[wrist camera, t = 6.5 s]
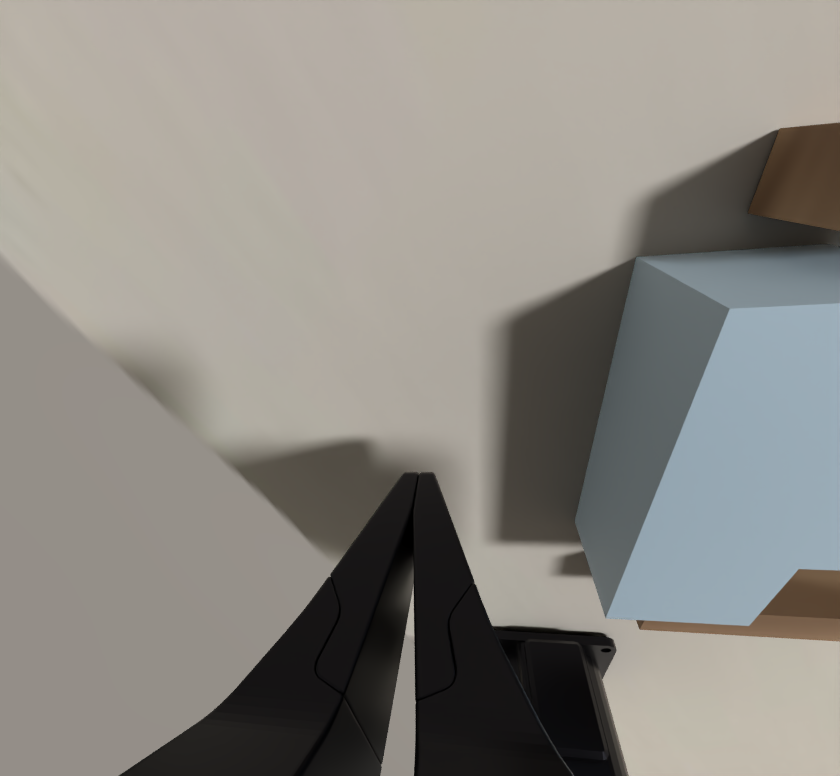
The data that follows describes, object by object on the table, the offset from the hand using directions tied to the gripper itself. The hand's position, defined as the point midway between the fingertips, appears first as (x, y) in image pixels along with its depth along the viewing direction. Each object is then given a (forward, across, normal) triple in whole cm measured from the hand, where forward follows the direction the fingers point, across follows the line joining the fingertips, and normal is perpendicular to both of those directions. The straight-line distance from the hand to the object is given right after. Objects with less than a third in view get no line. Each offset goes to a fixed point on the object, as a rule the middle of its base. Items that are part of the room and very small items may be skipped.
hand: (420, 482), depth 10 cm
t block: (+3, -11, 0) cm, 11 cm away
